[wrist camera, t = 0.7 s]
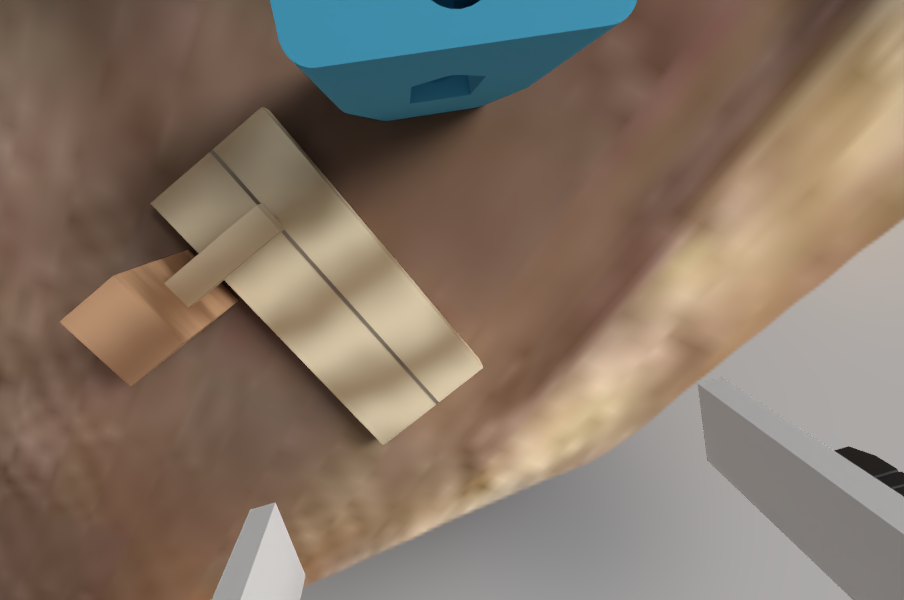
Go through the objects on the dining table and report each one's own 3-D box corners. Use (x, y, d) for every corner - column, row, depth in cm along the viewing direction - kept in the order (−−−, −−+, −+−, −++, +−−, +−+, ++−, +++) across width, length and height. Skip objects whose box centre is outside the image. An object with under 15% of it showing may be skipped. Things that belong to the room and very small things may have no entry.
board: (162, 201, 36) (150, 203, 34) (269, 109, 35) (261, 106, 33) (384, 434, 42) (383, 445, 40) (479, 359, 41) (483, 368, 39)
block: (348, 126, 36) (285, 72, 17) (334, 50, 35) (247, -105, 15) (515, 101, 37) (640, 21, 17) (506, 25, 35) (630, -153, 16)
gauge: (142, 288, 37) (51, 328, 28) (266, 182, 36) (217, 186, 27) (193, 338, 39) (122, 393, 29) (314, 237, 38) (284, 259, 28)
